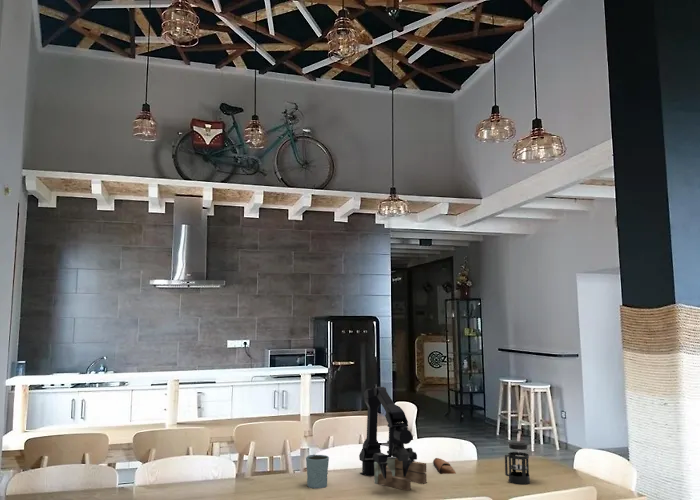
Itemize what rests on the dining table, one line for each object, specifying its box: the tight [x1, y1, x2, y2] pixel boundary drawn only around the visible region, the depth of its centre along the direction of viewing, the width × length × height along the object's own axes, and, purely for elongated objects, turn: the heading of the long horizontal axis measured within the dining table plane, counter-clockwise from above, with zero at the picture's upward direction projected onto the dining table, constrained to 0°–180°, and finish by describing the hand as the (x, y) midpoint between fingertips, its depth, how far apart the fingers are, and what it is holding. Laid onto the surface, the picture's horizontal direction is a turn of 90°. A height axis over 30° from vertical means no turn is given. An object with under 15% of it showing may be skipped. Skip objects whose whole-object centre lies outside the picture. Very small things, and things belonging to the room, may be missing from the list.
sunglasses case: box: [432, 457, 457, 475], centre depth 273 cm, size 18×7×7 cm, turn 2°
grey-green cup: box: [305, 454, 330, 489], centre depth 244 cm, size 10×10×12 cm
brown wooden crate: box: [373, 456, 428, 491], centre depth 249 cm, size 17×16×9 cm
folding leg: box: [381, 466, 392, 482], centre depth 241 cm, size 14×2×4 cm, turn 7°
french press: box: [504, 428, 531, 486], centre depth 253 cm, size 12×9×23 cm
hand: (394, 477), depth 237 cm, fingers open, 9 cm apart
